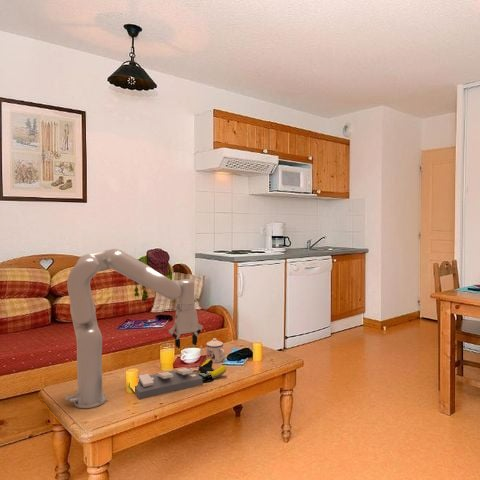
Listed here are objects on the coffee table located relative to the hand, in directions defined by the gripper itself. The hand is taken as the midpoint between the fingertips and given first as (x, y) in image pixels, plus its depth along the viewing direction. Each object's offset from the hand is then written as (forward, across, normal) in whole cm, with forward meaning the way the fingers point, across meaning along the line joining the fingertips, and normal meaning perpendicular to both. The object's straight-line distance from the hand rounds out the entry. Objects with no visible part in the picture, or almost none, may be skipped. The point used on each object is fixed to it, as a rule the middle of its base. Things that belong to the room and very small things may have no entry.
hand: (186, 345), depth 183 cm
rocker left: (+13, -18, +4) cm, 22 cm away
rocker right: (+13, 0, +4) cm, 13 cm away
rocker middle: (+13, -9, +4) cm, 16 cm away
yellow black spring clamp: (+18, +14, +5) cm, 24 cm away
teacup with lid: (+18, +26, +21) cm, 38 cm away
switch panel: (+18, -8, +4) cm, 20 cm away
